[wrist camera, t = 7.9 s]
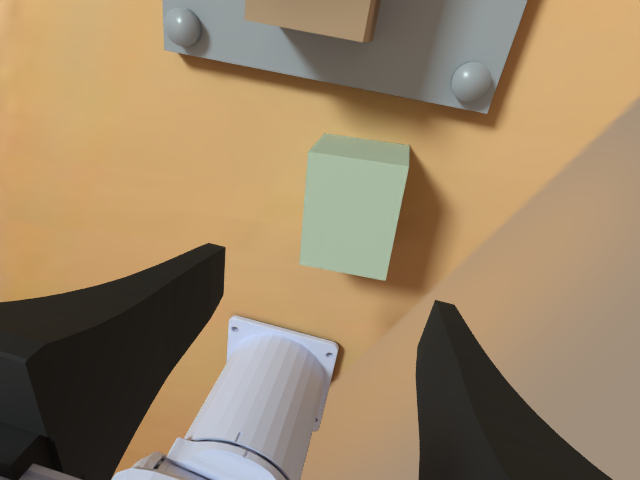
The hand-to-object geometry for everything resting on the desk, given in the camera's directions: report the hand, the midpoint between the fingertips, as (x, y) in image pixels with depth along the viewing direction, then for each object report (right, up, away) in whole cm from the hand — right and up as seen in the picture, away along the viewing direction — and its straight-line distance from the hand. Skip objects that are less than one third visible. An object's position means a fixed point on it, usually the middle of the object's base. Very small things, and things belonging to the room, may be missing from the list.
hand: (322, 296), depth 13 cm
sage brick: (+2, +5, +9) cm, 10 cm away
